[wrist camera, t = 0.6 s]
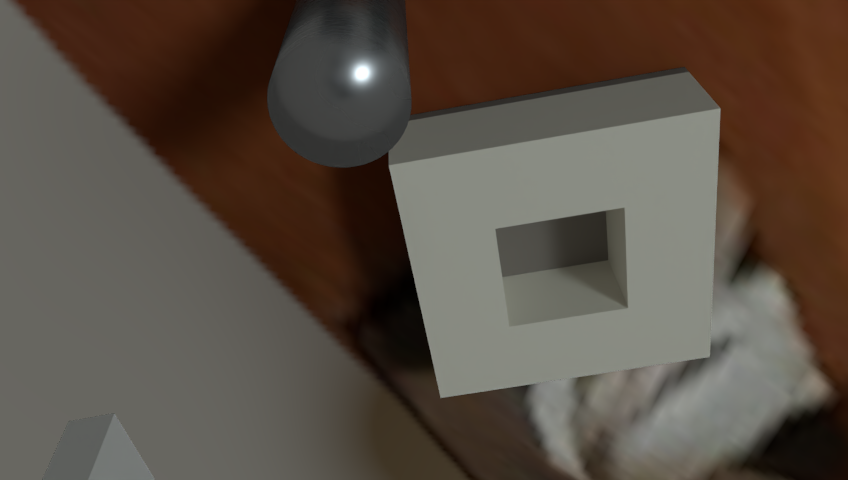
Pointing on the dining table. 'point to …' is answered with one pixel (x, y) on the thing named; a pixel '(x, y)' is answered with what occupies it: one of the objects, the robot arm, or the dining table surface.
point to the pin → (342, 80)
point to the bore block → (562, 230)
